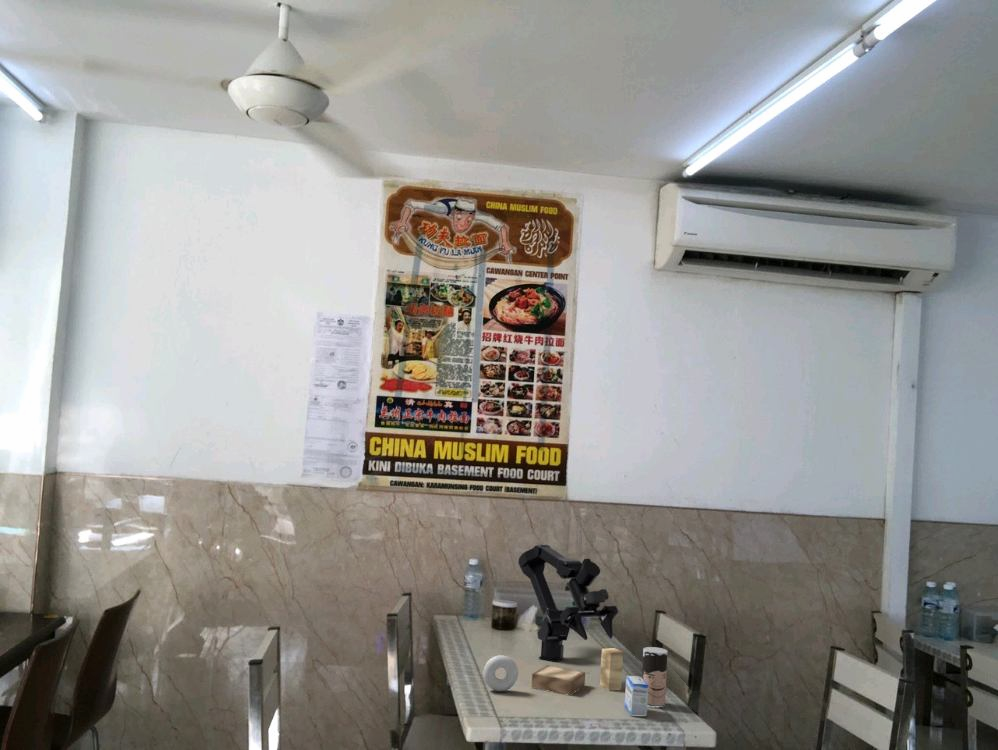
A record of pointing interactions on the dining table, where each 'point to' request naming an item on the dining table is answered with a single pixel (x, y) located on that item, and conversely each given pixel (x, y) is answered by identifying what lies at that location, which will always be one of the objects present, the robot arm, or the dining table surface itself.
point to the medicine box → (636, 695)
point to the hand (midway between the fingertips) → (599, 638)
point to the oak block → (611, 668)
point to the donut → (493, 666)
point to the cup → (655, 674)
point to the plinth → (558, 679)
